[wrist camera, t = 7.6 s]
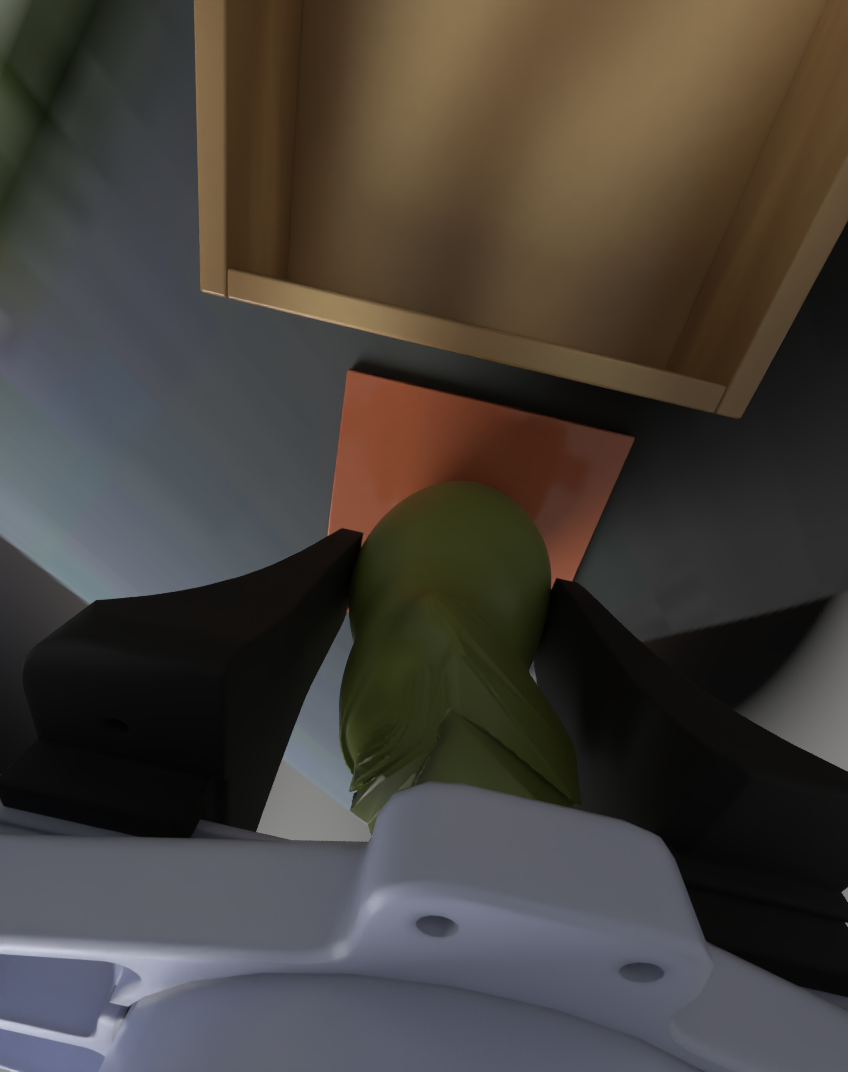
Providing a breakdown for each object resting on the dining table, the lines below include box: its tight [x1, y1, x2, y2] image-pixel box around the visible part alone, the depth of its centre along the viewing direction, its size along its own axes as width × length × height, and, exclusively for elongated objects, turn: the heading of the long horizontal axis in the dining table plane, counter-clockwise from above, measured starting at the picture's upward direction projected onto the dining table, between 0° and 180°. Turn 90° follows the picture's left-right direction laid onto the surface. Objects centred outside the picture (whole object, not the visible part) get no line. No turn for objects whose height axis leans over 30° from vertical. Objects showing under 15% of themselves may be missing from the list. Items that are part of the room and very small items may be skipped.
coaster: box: [327, 369, 635, 612], centre depth 15 cm, size 9×9×1 cm
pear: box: [339, 481, 582, 835], centre depth 11 cm, size 6×5×10 cm
